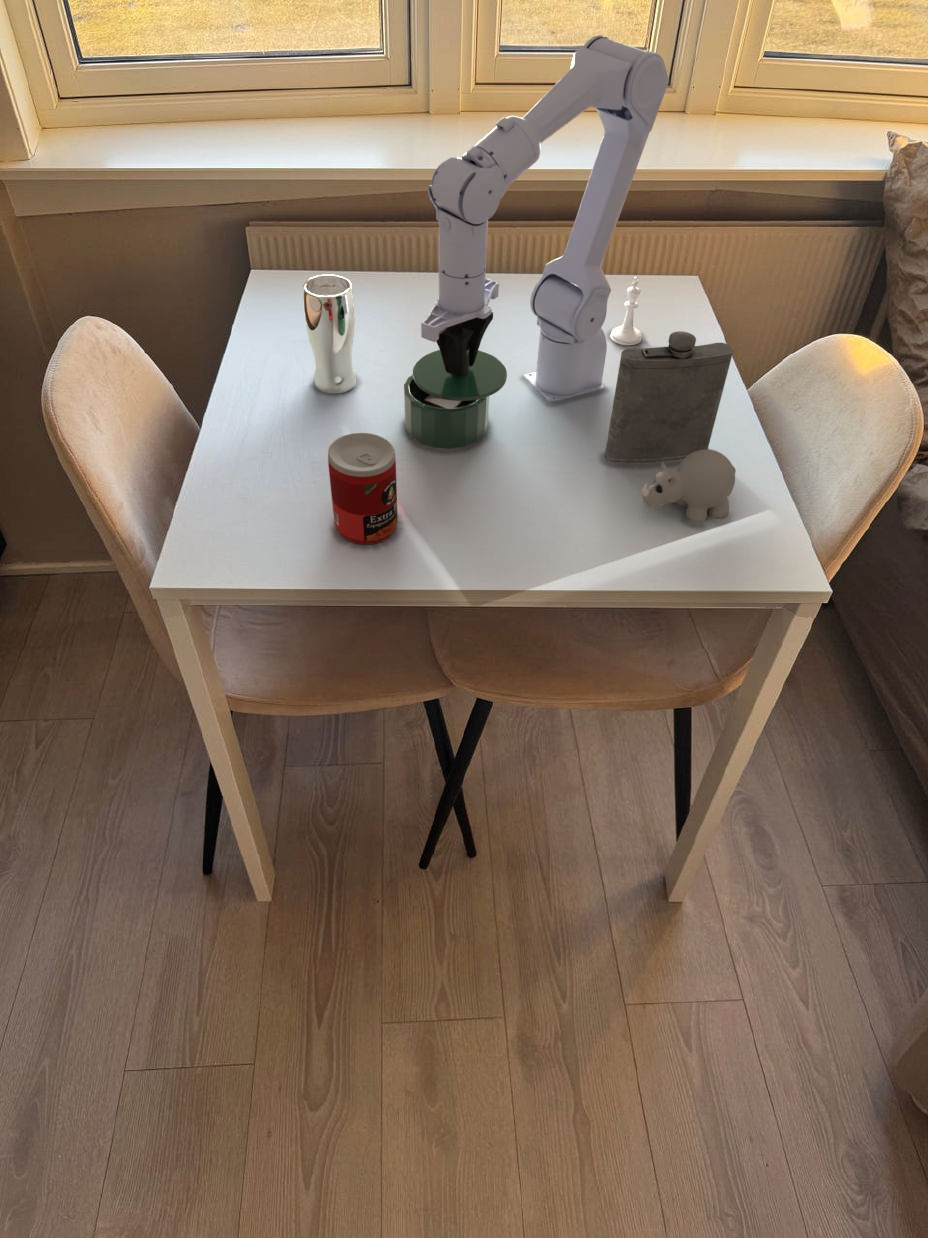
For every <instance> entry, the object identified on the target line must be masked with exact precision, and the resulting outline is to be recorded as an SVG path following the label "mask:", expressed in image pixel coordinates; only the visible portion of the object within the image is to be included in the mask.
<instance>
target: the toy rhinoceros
mask: <svg viewBox="0 0 928 1238" xmlns="http://www.w3.org/2000/svg"><path fill="white" fill-rule="evenodd" d="M735 483H736V468H735V466H734V465H733V464H732V462H731V461H730V460H729V458H728V457H727V456H726V455H725V454H723V453H721V452H720V451H717V450H714V449H709V448H708V449H703V450H698V451H695V452H692V453H691V454H689V455H687V456H686V457H685V458H684V459H681V461H680V462H679V464H678V466H677V468H676V469H674V468H668V467H667V464H666V463H665V461H663V462H660V469H659V471H657V473H656V474H655V476H654V479H653V482H652V484H651V485H649V486H648V483H644V486H643V487H642V489H641V491H642V492H641V494H642V502H643V504H644V505H645V506H646V507H648V508H649V509H658V508H660V507H662V506H663V505H665V504H675V503H676V504H677V505H679V506H680V507H685V508H686V507H687V508H686V511H685V518H686V519H687V520H688V521H690V522H692V523H695V524H701V523H703V522H705V521H706V519H707V518H708V517H707V516H708V515H709V516H710V517H712V518H713V519H718V520H723V519H725V518H727V517H728V515H729V513H730V502H729V499H728V498H729V497H730V495H731V494H732V492H733V490H734V487H735Z"/></svg>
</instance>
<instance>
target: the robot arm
mask: <svg viewBox="0 0 928 1238" xmlns="http://www.w3.org/2000/svg"><path fill="white" fill-rule="evenodd" d="M669 83H670V79H669V75H668V71H667V68H666V63H665V60H664V59H663V56H661V54H660V53H658V52H655V51H646V50H644V49H640V48H639V47H635V46H631V45H628V44H625V43H622V42H619V41H616V40H613V39H610V38H608V36H605V35H602V34H598V35H594V36H592V37H591V38H590V39H588V40H587V41H586V42H585V44H584V45H583V46H582V47H580V48H579V49H577V50H576V51H574V53H573V57H572V60H571V64H570V69H569V70H568V71H567V72H566V73H565V74H564V75H563V76H562V77H561V78H560V79H559V80H558V81H557V82H556V83H555V84H554V85H553V86H552V87H551V89H549V90H548V91H547V92H546V93H545V95H543V96H542V98H540V99H539V100H538V101H537V103H535V105H534V106H533V107H532V108H531V109H530V110H529V111H527V113H526V114H525V115H524V116H523V117H519V116H516V115H509V116H507V117H505V116H503V117H502V118H500V119H499V120H498V121H497V122H496V125H495V127H494V128H493V129H492V130H491V131H489V133H487V134H486V135H485V136H484V137H483V138H482V139H480V140H479V141H478V142H477V143H476V144H475V145H473V146H471V147H470V148H469V149H468V150H467V151H466V152H465V153H463V155H462V156H461V157H459V156H455V157H449V158H447V159H446V160H444V161H442V162H441V163H440V164H439V165H438V166H437V168H436V169H435V170H434V172H433V174H432V177H431V183H430V185H428V186H427V194H428V199H429V201H430V203H431V204H432V205H433V206H434V208H435V221H437V222H438V297H437V299H436V301H435V302H434V305H433V307H432V308H431V310H430V312H429V314H428V316H426V318H425V320H423V321H422V322H421V323H420V325H421V326H420V328H421V329H420V330H421V331H420V333H421V335H420V336H421V338H422V339H425V340H427V341H430V342H433V343H436V344H437V346H438V350H440V352H441V355H442V358H443V362H444V366H445V370H446V372H447V373H450V374H453V375H455V376H460V375H461V373H462V371H463V366H464V358H465V352H466V348H467V344H468V345H469V346H470V359H469V366H473V365H474V362H475V359H476V356H477V353H478V350H479V349H480V346H481V342H482V340H483V337H484V335H485V333H486V331H487V329H488V327H489V325H490V324H491V323H492V321H493V320H494V311H493V309H492V307H490V306H488V305H489V303H490V301H491V300H495V299H497V298H498V297H499V291H500V290H499V289H500V288H499V287H500V282H498V281H495V280H493V279H489V278H487V273H486V272H487V255H488V254H487V252H488V235H489V234H488V232H489V231H488V230H489V219H492V217H494V215H495V214H496V212H497V210H498V208H499V206H500V203H501V200H502V199H503V197H504V196H506V192H507V191H508V188H509V186H510V185H512V184H513V183H514V182H515V181H516V180H517V179H519V178H520V177H521V176H522V175H523V174H525V172H526V171H528V170H529V169H530V168H531V167H532V166H533V165H534V164H536V163H537V162H538V161H539V159H540V156H541V149H542V144H543V143H544V142H546V141H547V140H548V139H549V138H551V137H552V136H554V135H555V134H556V133H557V132H559V131H560V130H561V129H563V128H565V127H566V126H567V125H569V123H571V122H572V121H573V120H574V119H576V118H577V117H579V116H580V115H581V114H582V113H584V112H586V111H587V110H588V109H590V108H593V109H594V110H595V111H596V112H597V114H598V116H599V119H600V121H601V124H602V126H603V128H604V133H603V135H602V139H601V142H600V145H599V147H598V151H597V155H596V157H595V160H594V163H593V166H592V169H591V171H590V174H589V178H588V181H587V184H586V187H585V190H584V193H583V195H582V198H581V201H580V204H579V207H578V211H577V213H576V217H575V220H574V222H573V225H572V229H571V231H570V235H569V237H568V240H567V243H566V247H565V250H564V252H563V255H562V256H560V257H557V258H555V259H552V260H551V261H549V262H547V263H546V264H545V267H544V270H543V272H542V274H541V277H540V278H539V280H538V281H537V283H536V284H535V286H534V287H533V289H532V292H531V296H530V301H529V303H530V304H529V305H530V310H531V312H532V314H533V315H534V316H536V317H537V318H536V325H537V326H538V327H539V337H538V347H537V358H536V368H535V371H534V372H529V373H525V374H524V375H523V376H524V378H525V379H526V381H528V382H529V383H530V384H531V385H532V386H533V387H534V388H535V389H536V390H537V391H538V392H539V393H540V394H541V395H542V396H543V397H544V398H545V399H546V400H547V402H557V401H560V400H565V399H567V398H571V397H575V396H580V395H583V394H588V393H592V392H595V391H599V390H602V389H604V388H605V386H604V385H603V384H602V383H603V376H604V370H605V364H606V356H607V351H608V350H607V347H608V345H607V338H606V333H605V332H604V330H603V328H602V327H603V325H604V323H605V321H606V317H607V311H608V302H609V297H610V294H611V291H612V288H611V285H610V284H609V282H608V279H607V277H606V274H605V273H604V271H603V267H602V266H603V263H604V260H605V258H606V254H607V253H608V250H609V246H610V244H611V242H612V239H613V236H614V233H615V230H616V227H617V224H618V221H619V219H620V215H621V214H622V210H623V208H624V204H625V202H626V199H627V196H628V194H629V191H630V188H631V185H632V182H633V180H634V177H635V174H636V172H637V169H638V165H639V163H640V160H641V157H642V154H643V153H644V149H645V146H646V144H647V140H648V138H649V136H650V133H651V132H652V130H653V127H654V124H655V122H656V119H657V116H658V113H659V111H660V107H661V105H662V102H663V100H664V96H665V94H666V91H667V89H668V86H669Z"/></svg>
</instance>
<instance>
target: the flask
mask: <svg viewBox="0 0 928 1238" xmlns="http://www.w3.org/2000/svg"><path fill="white" fill-rule="evenodd" d="M696 343H697V338H696V336H695V335H694V334H692V333H690V332H688V331H683V330H682V331H680V330H679V331H678V330H677V331H674V332H671V333H670V334H669V337H668V346H657V347H645V348H644V347H642V348H640V347H639V348H637V347H636V348H635V347H628V348H624V349H623V350H622V351H621V354H620V358H619V359H620V360H619V366H618V370H617V371H618V372H617V377H616V385H615V391H614V396H613V402H612V407H611V408H612V409H611V415H610V420H609V427H608V432H607V440H606V445H605V451H604V457H605V458H606V460H607V461H610V462H611V463H622V464H644V463H645V464H647V463H661V462H672V461H679V460H681V461H682V460H683V459H684V458H685V457H686V456H687V455H689V454H691V453H692V452H695V451H698V450H703V449H709V446H710V442H711V438H712V434H713V431H714V427H715V423H716V419H717V414H718V411H719V406H720V403H721V400H722V396H723V391H724V388H725V385H726V380H727V376H728V373H729V370H730V369H729V368H730V365H731V361H732V357H733V353H734V347H733V346H731V345H730V344H728V343H725V342H713V343H707V344H702V345H701V344H700V345H696Z"/></svg>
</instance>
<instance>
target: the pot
mask: <svg viewBox="0 0 928 1238" xmlns="http://www.w3.org/2000/svg"><path fill="white" fill-rule="evenodd" d="M428 396H430V394H428V393H426V392H424V391H423V390H422V389H420V388H419V387H418V386H417V384H416V383H415V381H414V379H413V373H412V374H411V375H409V376H408V377H407V378H406V381H405V383H404V384H403V403H404V404H403V407H404V408H403V409H404V428H405V432H406V433H407V434H408V435H409V437H410V438H411V439H413V440H414V441H416V442H417V443H419V444H421V445H423V446H427V447H430V448H434V449H447V450H451V449H458V448H465V447H467V446H470V445H472V444H474V443H477V442H478V441H480V439H481V438H483V437H484V436H485V435H486V432H487V430H488V427H489V407H490V396H488V397H485V398H482V399H477V400H470V401H468V405H467V406H464V407H459V408H452V409H447V408H435V407H432V406H428V405H425V404H424V399H426V398H427V397H428Z"/></svg>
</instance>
